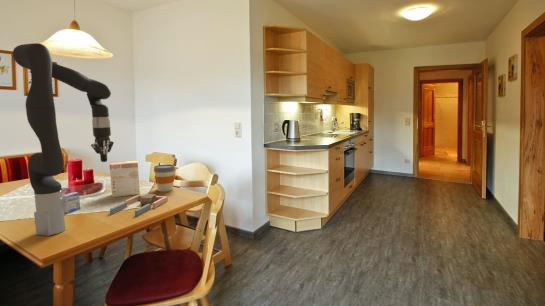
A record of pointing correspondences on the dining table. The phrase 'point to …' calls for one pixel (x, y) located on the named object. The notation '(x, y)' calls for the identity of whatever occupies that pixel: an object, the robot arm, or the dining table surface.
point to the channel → (124, 205)
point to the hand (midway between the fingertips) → (104, 161)
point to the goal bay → (157, 203)
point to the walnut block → (148, 199)
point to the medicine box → (71, 202)
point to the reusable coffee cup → (164, 177)
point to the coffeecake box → (124, 178)
